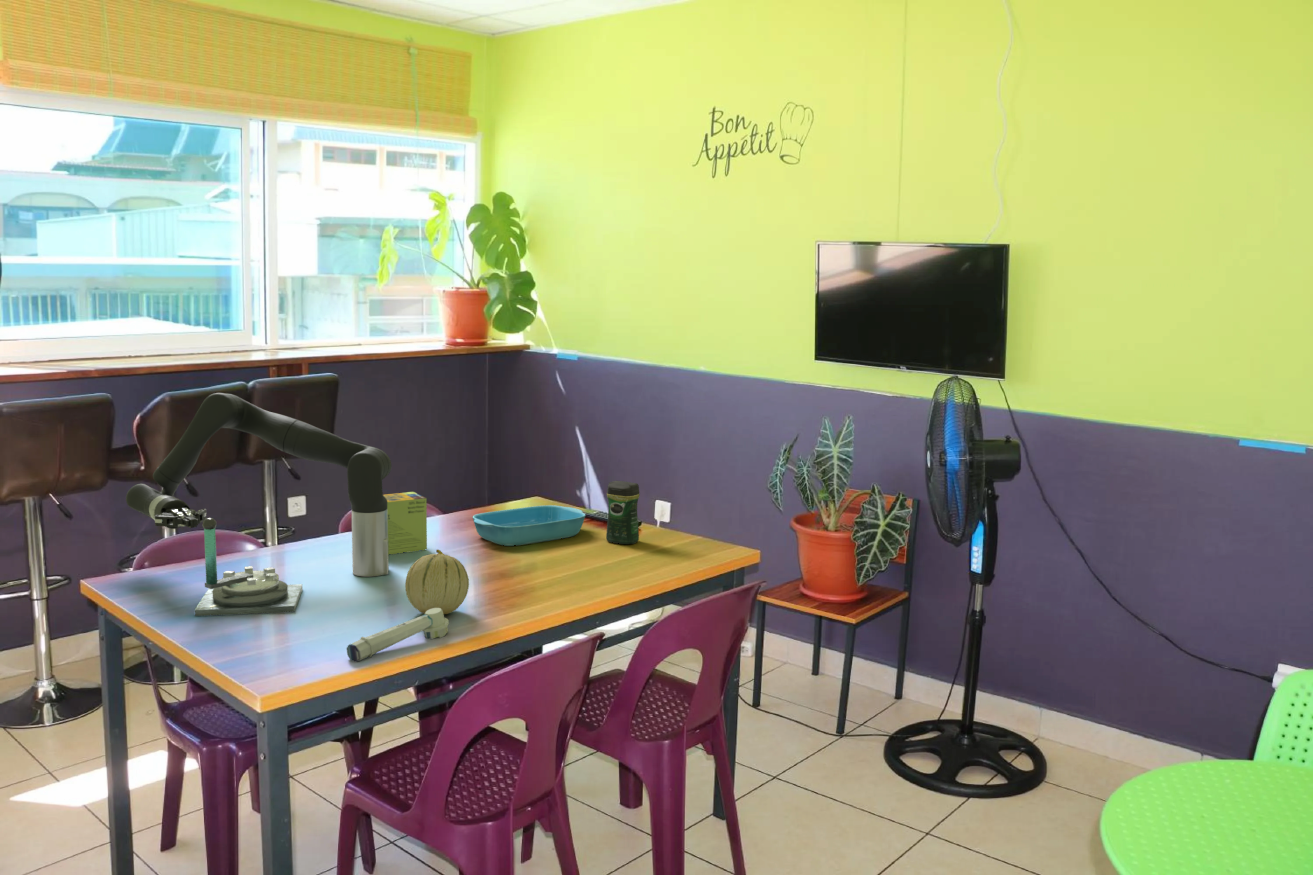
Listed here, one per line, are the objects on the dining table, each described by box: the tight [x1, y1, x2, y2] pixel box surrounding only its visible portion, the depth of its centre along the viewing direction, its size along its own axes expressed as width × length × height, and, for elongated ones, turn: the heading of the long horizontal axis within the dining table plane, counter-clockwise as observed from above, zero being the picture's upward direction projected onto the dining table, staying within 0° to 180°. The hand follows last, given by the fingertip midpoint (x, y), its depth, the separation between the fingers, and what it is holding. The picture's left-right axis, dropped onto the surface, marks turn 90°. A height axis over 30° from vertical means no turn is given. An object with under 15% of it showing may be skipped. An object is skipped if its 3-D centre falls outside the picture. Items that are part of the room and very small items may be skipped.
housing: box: [194, 580, 303, 617], centre depth 262 cm, size 22×18×4 cm
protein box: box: [383, 491, 428, 556], centre depth 313 cm, size 10×15×16 cm
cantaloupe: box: [404, 549, 470, 616], centre depth 256 cm, size 15×15×15 cm
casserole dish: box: [472, 504, 586, 547], centre depth 333 cm, size 37×22×7 cm, turn 131°
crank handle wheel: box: [201, 517, 280, 596], centre depth 258 cm, size 18×13×19 cm
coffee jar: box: [605, 480, 641, 545], centre depth 328 cm, size 10×8×19 cm
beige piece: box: [345, 608, 450, 663], centre depth 235 cm, size 5×7×25 cm
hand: (193, 523), depth 264 cm, fingers closed
